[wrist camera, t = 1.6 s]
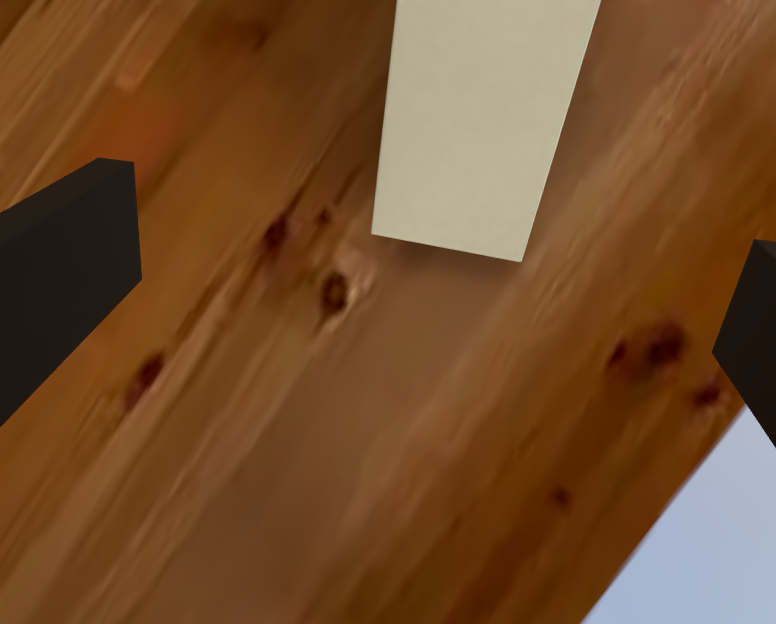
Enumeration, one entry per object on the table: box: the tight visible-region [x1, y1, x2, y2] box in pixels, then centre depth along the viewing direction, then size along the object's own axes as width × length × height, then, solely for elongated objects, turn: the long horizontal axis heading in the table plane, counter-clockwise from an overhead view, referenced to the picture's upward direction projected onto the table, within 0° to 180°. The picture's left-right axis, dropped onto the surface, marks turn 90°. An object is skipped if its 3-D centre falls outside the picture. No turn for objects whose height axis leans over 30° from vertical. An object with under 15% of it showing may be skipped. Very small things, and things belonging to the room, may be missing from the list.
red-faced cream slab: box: [371, 0, 601, 262], centre depth 27 cm, size 13×6×13 cm, turn 168°
